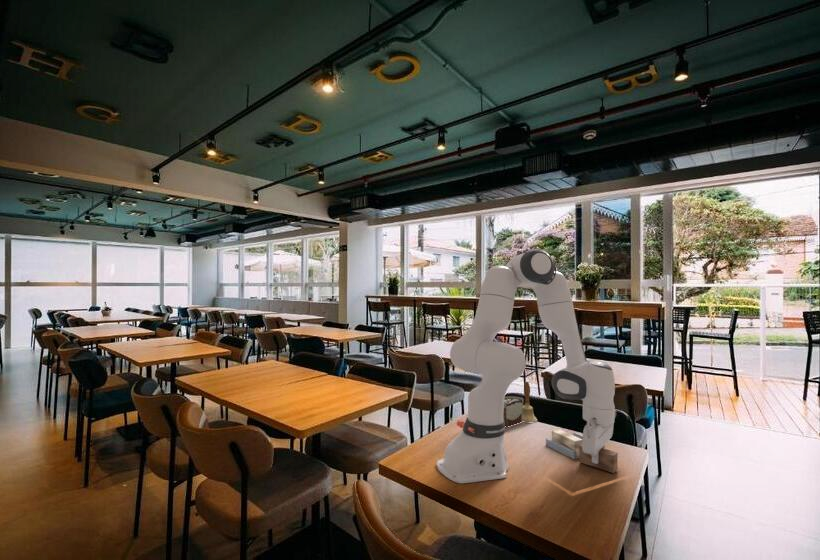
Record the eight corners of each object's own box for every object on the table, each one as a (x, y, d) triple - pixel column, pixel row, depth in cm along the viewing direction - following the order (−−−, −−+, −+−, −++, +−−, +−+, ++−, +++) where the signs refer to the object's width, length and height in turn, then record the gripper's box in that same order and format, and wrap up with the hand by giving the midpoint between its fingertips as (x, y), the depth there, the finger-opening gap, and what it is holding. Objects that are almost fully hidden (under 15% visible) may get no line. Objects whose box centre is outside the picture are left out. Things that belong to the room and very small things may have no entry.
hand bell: (534, 424, 157) (534, 385, 157) (514, 420, 161) (514, 382, 161) (539, 418, 164) (539, 381, 164) (520, 415, 168) (520, 378, 168)
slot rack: (573, 461, 124) (573, 452, 124) (545, 447, 135) (545, 438, 135) (604, 453, 130) (604, 444, 130) (575, 440, 141) (575, 432, 141)
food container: (511, 417, 164) (511, 394, 164) (523, 422, 159) (523, 397, 160) (492, 424, 157) (492, 399, 157) (504, 428, 152) (505, 403, 152)
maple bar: (582, 454, 127) (582, 439, 127) (575, 456, 126) (575, 441, 126) (559, 443, 136) (559, 429, 136) (551, 445, 135) (551, 430, 135)
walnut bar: (617, 469, 117) (617, 452, 117) (613, 473, 114) (613, 456, 114) (583, 458, 124) (583, 442, 124) (579, 462, 121) (579, 445, 121)
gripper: (600, 425, 109) (599, 475, 109) (617, 409, 125) (617, 452, 124) (576, 420, 113) (576, 468, 113) (596, 405, 129) (596, 447, 129)
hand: (597, 459), depth 119 cm, fingers closed on walnut bar, 4 cm apart
